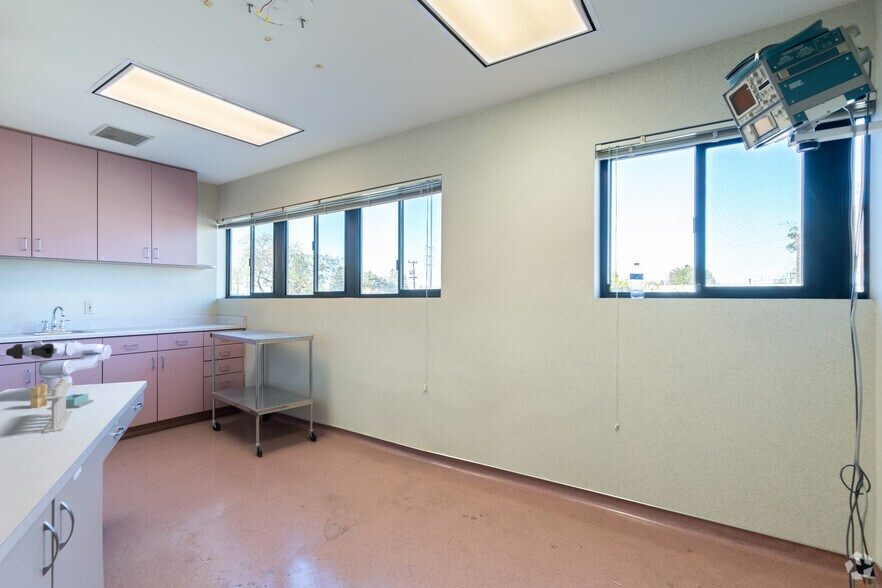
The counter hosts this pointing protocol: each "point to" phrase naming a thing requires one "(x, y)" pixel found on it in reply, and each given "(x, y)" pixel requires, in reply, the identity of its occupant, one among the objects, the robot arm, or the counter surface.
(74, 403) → the stand
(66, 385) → the test tube rack
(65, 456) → the counter surface
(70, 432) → the counter surface
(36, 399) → the plank
